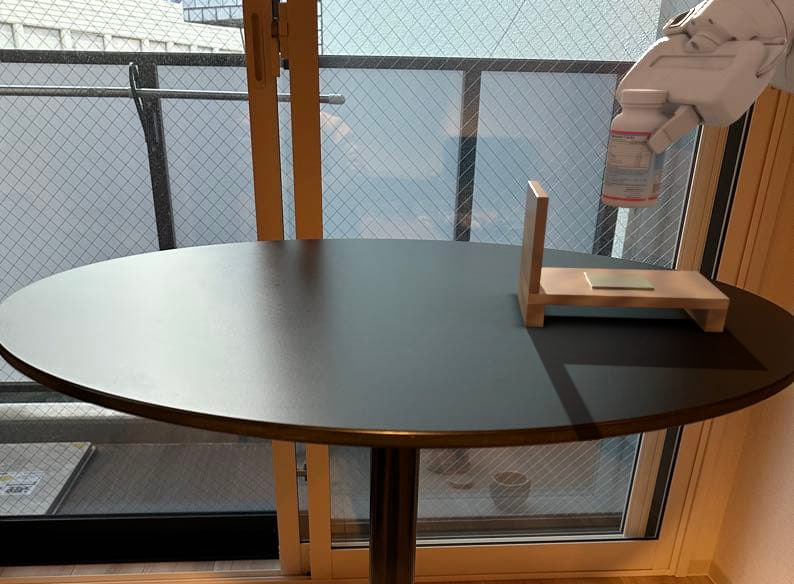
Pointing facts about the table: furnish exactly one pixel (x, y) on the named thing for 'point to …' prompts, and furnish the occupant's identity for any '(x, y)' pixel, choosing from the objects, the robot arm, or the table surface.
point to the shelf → (606, 281)
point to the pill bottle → (634, 151)
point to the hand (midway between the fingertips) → (631, 145)
